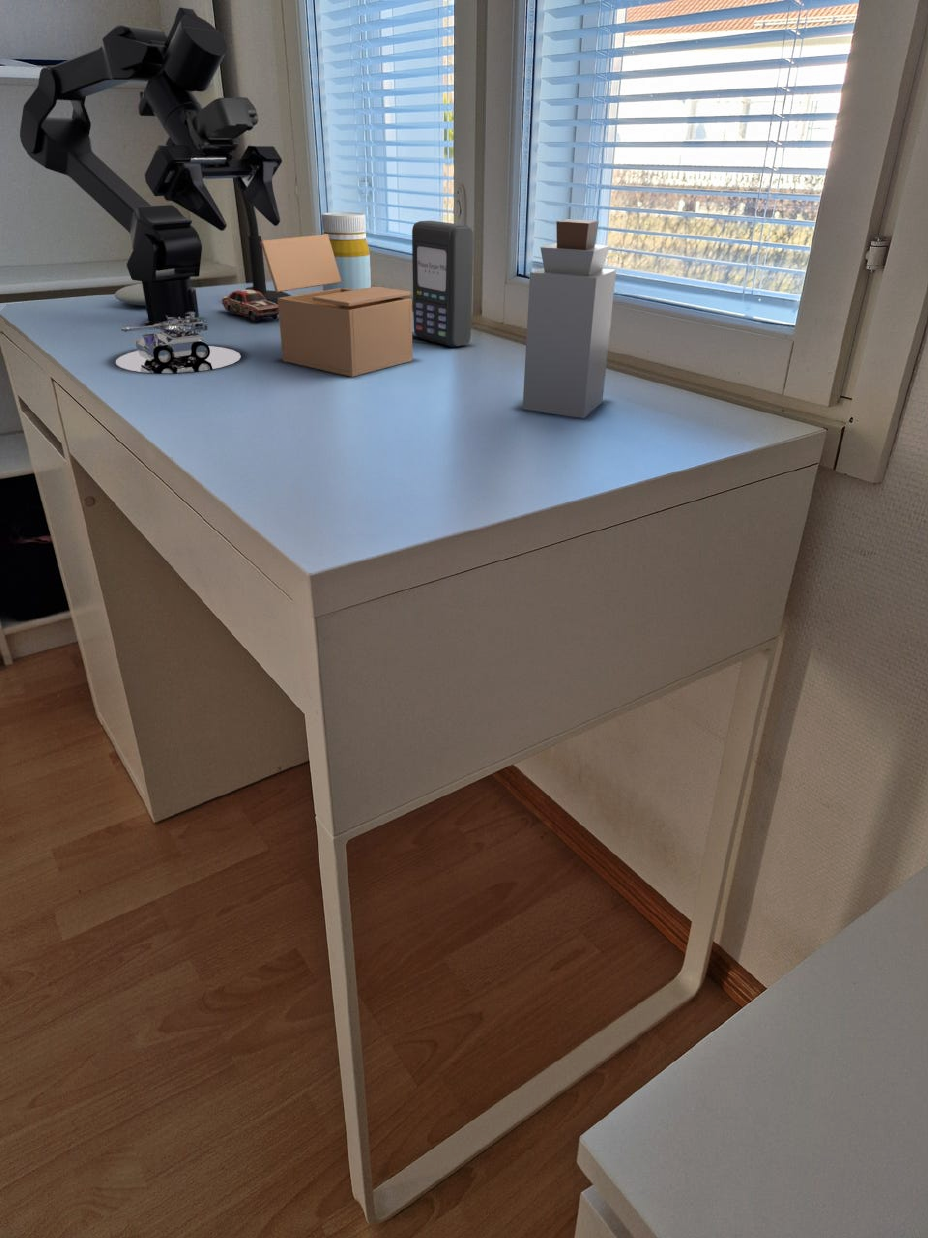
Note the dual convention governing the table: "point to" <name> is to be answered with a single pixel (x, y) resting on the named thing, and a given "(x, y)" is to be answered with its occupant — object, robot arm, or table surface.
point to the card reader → (442, 282)
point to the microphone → (257, 256)
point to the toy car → (175, 349)
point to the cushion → (131, 295)
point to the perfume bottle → (569, 323)
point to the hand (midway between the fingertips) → (252, 225)
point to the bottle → (348, 249)
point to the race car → (250, 305)
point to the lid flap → (300, 262)
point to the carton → (347, 329)
